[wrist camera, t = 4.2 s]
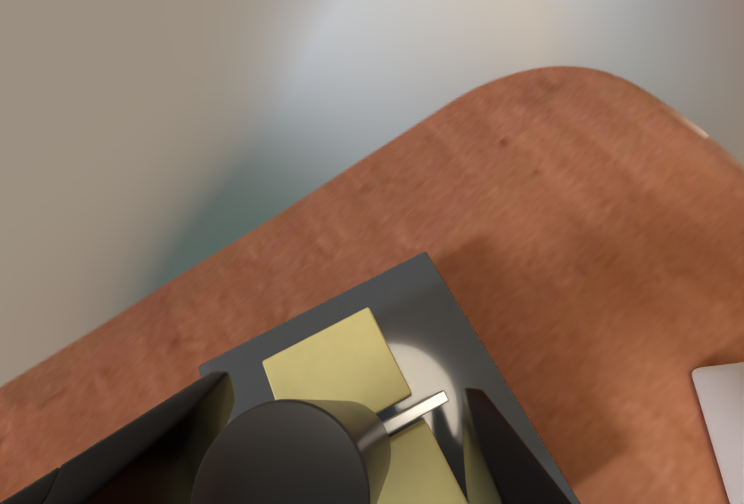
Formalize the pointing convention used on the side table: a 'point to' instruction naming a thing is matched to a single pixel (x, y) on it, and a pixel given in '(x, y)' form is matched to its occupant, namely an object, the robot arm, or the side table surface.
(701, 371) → the white canister
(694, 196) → the side table surface
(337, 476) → the knife
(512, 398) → the butter dish
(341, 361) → the butter
